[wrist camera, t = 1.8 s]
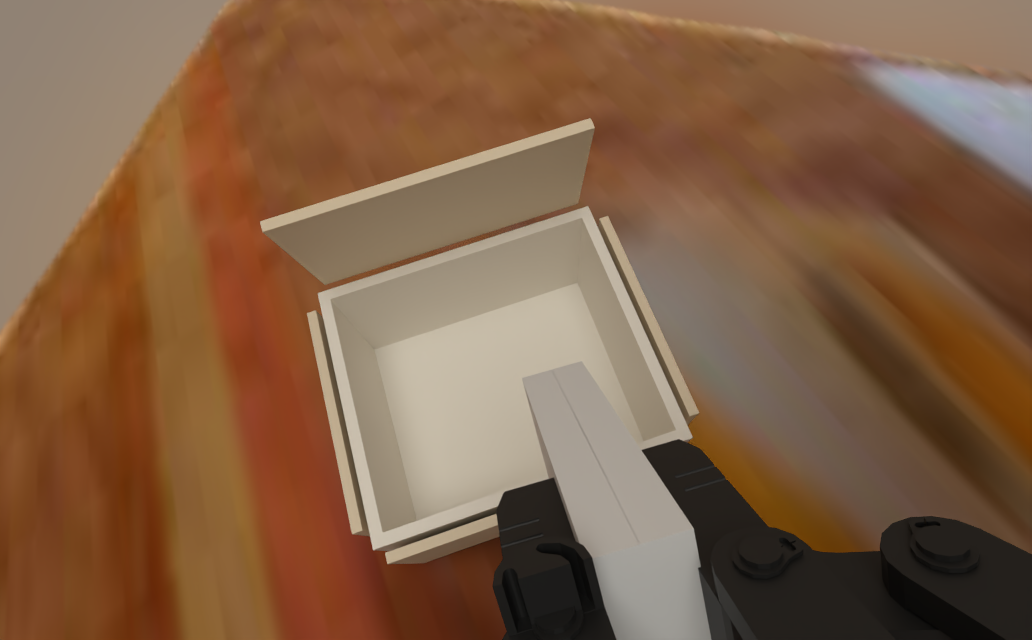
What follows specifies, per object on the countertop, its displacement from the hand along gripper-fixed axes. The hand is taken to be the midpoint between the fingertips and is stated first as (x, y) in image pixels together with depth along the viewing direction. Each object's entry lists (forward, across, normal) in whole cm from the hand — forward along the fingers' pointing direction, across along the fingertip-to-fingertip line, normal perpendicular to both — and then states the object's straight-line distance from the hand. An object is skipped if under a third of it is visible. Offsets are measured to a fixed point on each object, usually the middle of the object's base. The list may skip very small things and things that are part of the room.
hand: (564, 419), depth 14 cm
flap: (+21, +2, -2) cm, 21 cm away
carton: (+23, +2, +10) cm, 25 cm away
